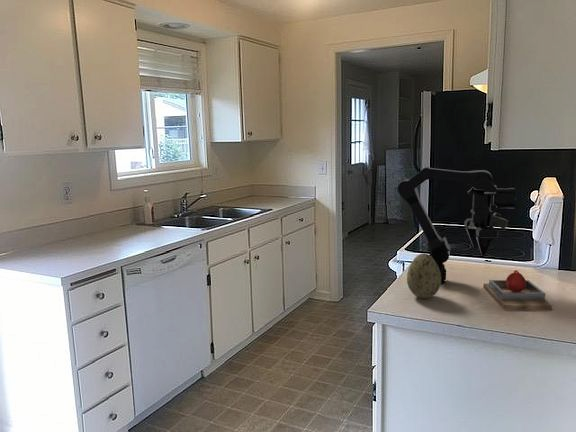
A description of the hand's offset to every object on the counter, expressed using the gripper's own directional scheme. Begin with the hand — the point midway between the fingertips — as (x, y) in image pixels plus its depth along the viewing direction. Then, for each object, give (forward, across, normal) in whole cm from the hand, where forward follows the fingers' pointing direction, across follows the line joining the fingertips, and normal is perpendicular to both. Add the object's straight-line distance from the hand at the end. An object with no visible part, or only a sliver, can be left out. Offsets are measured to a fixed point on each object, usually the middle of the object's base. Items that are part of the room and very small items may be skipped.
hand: (479, 251), depth 163 cm
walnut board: (+12, -13, -8) cm, 19 cm away
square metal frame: (+10, -13, -8) cm, 18 cm away
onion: (+11, -13, -8) cm, 19 cm away
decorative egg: (+12, -13, +21) cm, 28 cm away
